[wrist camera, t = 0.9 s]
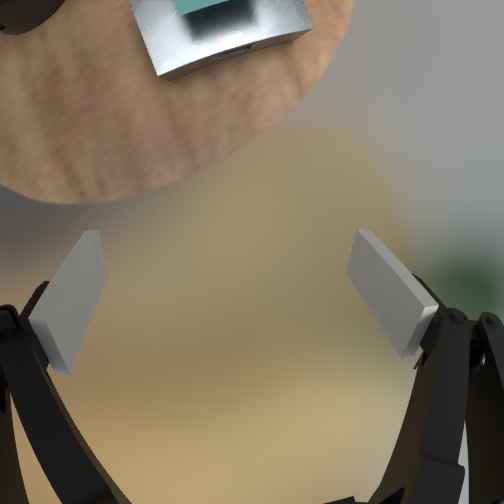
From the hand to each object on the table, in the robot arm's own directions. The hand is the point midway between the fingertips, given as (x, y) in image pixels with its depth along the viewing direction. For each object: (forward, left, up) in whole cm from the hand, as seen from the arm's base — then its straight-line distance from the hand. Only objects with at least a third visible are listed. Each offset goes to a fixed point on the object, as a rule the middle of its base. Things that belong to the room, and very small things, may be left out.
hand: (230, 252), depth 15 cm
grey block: (-17, +6, -25) cm, 31 cm away
